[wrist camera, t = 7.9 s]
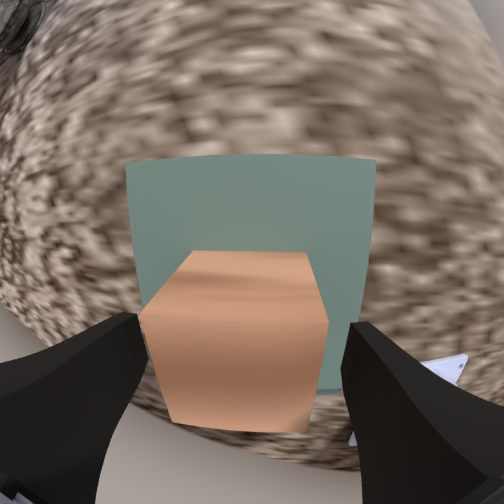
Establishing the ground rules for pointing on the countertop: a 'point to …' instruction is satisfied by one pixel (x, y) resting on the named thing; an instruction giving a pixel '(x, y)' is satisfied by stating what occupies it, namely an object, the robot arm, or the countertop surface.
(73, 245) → the countertop surface
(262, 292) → the block
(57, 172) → the countertop surface
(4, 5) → the salt shaker
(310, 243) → the book
